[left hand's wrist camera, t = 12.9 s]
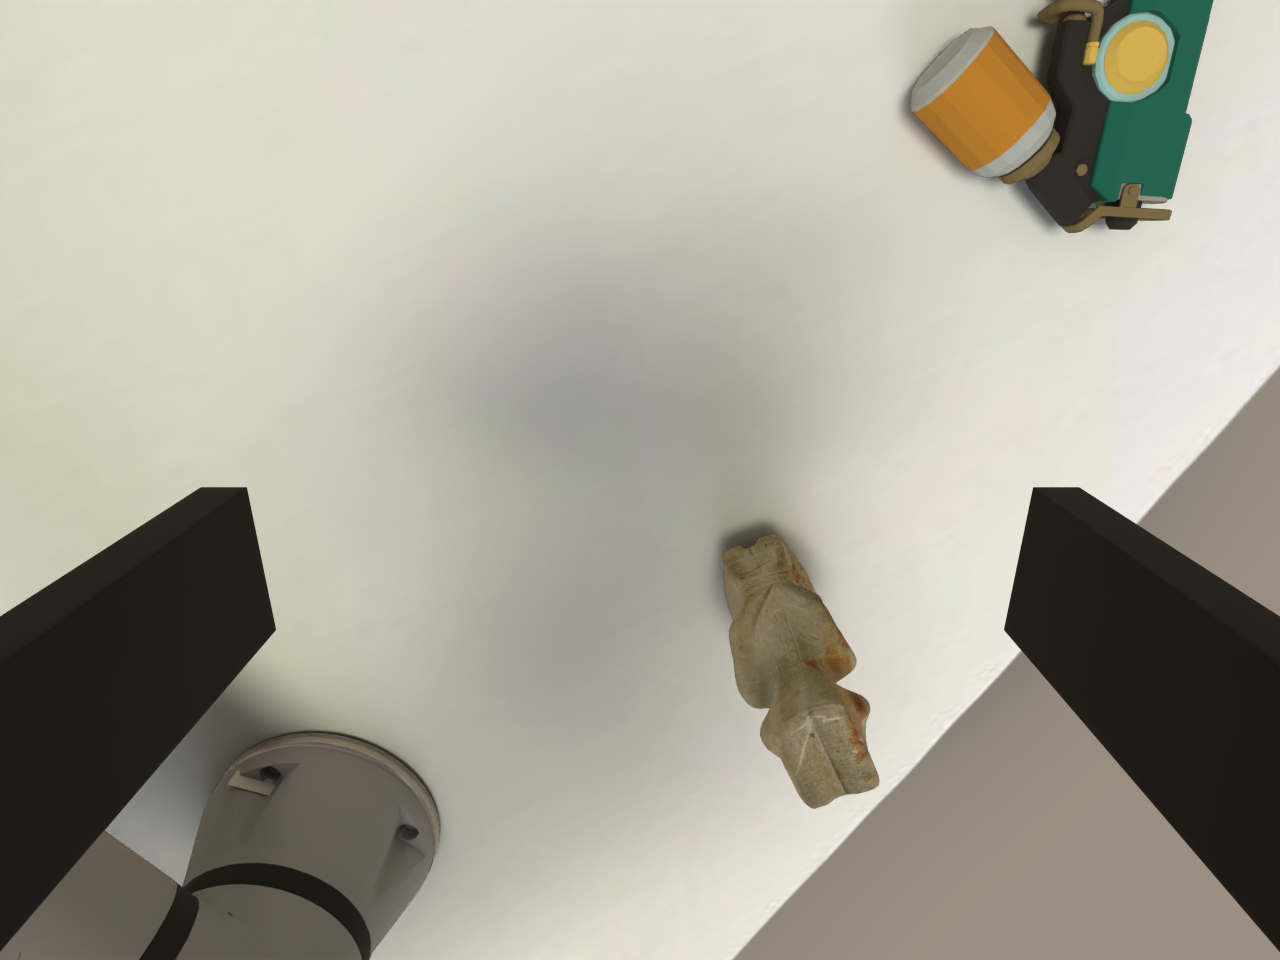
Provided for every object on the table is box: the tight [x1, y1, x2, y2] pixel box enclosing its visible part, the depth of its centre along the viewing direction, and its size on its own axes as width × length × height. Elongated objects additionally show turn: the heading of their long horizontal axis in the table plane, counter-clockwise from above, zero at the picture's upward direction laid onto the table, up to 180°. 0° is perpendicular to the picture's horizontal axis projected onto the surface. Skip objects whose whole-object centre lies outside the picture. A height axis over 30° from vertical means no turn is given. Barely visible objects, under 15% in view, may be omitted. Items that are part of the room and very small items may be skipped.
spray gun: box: [911, 0, 1213, 233], centre depth 32 cm, size 4×17×15 cm
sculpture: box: [723, 534, 879, 809], centre depth 37 cm, size 6×7×15 cm
